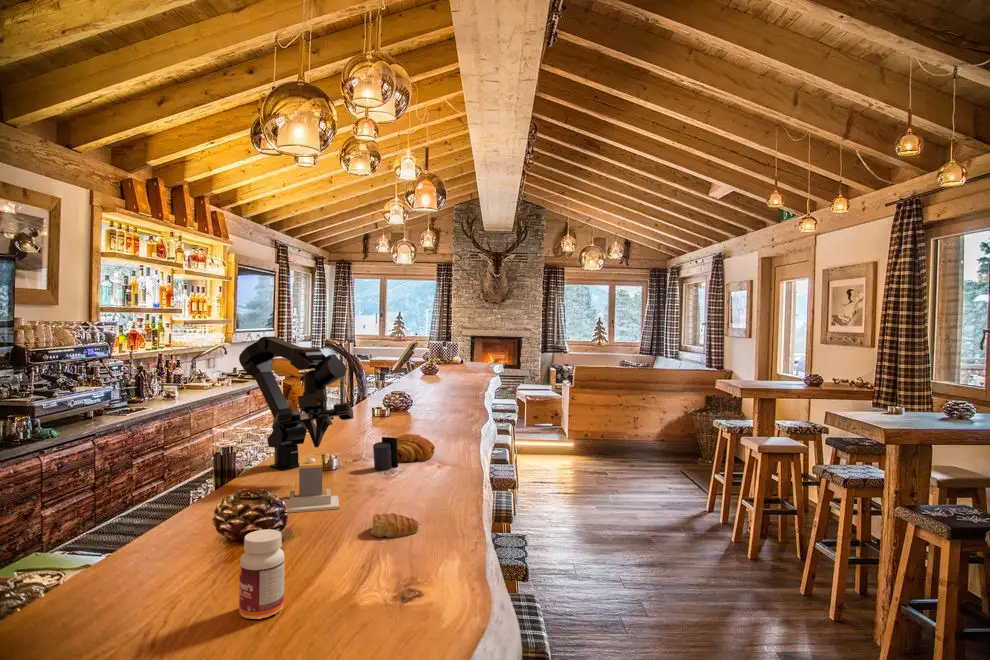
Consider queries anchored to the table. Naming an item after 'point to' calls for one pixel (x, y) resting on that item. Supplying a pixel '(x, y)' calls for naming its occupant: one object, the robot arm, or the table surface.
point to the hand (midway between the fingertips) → (316, 447)
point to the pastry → (393, 525)
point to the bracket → (311, 502)
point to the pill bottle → (261, 574)
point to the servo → (310, 475)
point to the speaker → (385, 454)
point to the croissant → (414, 448)
